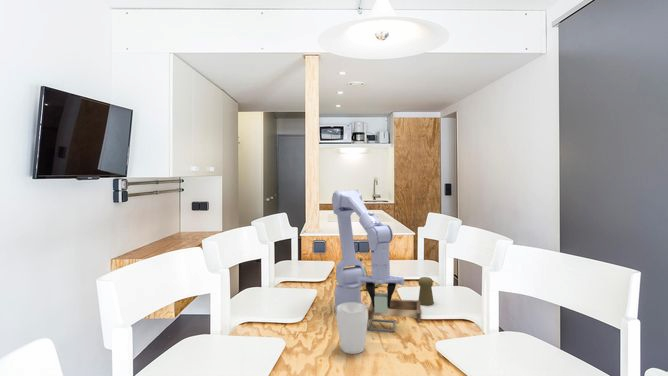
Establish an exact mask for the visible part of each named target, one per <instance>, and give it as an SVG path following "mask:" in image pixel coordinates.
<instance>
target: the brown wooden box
mask: <svg viewBox="0 0 668 376" xmlns="http://www.w3.org/2000/svg"><path fill="white" fill-rule="evenodd" d="M421 309H422V305H420V301H418V300H413V299H411V300H410V299H392V298H391V302H390V308H389V309H388V313H375V307H373V305H372V301H370V304H369V307H368V308H367V313H368V320H370V319H374V316H377V317H379V316H380V317H396V318H397V317H398V318H400V317H401V318H413V319H414V318H415V319H416V323H421V322H422V321H421V313H422V312H421V311H422V310H421Z"/></svg>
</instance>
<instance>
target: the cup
mask: <svg viewBox="0 0 668 376" xmlns="http://www.w3.org/2000/svg"><path fill="white" fill-rule="evenodd" d="M335 314H336V316H335V318H336V324H337V331H338V336H339V337H338V338H339V343H340V348H341V351H342V352H343V353H346V354H351V355H355V354H359V353H362V352H364V350H365V348H366V339H367V338H366V337H367V332H368V331H367V329H368V321H369V319H368V306H367V305H366V304H365V303H362V302H361V303H357V302H347V303H342V304H340V305H338V306H337V312H336V313H335Z"/></svg>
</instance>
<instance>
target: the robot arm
mask: <svg viewBox="0 0 668 376" xmlns="http://www.w3.org/2000/svg"><path fill="white" fill-rule="evenodd" d="M331 204H332V210H333V214H334V215H336V216H337V217H336V218H337V224H338V226H337V227H338V234H339V242H340V251H341V257H342V259H341V260H340V261H339V262H338V263H337V264H336V265H335V270H336V271H335V280H336V282H337V284H336V285H335V289H334V312H336V313H337V306H338V305H340V304H342V303H347V302H357V303H362V292H361V291H362V290H361V285H362V283H366V291H367V293H368V295H369V297H370V300H371V301H372V305H373V307H375V305H374V296H375V293H376V288H375V284H379V285H380V284H381V285H387V287H386V290H387V292H386V293H388V303H387V306H388V308H390V302H391V299H392V296H393V294H394V292H395V289H396V287H397V285H400V286H405V277H403V276H402V277H400V276H392V275H391V272H390V271H391V270H390V269H391V268H390V243H392V241H393V239H394V238H393V237H394V236H393V235H394V234H393V229H392V228H391V226H390V225H389V224H385V223H382V221H381V220H380V219H379V218H378V216H377V215H376V214H375V212H373V211H370V210H368V209H367V207H366V205H365V203H364V202H363V195H362V193H361V191H360V190H359V189H351V190H335V191H333V193H332V196H331ZM354 213H355V214H356V215H357V216H358V217H359V220H358V221H359V223H360V225H361V226H362V228H363V230H364V231H365V233H367V234H366V238H367V241H368V248H369V250H370V259H371V260H370V261H371V264H370V265H371V266H370V267H371V268H370V269H371V275H368V276H366V273H365V271H364V268H363V266H364V265H363V262H361V261H360V259H358V258H357V257H356V249H355V243H354V233H353V227H352V218H351V216H352V214H354ZM371 301H370V302H371Z"/></svg>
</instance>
